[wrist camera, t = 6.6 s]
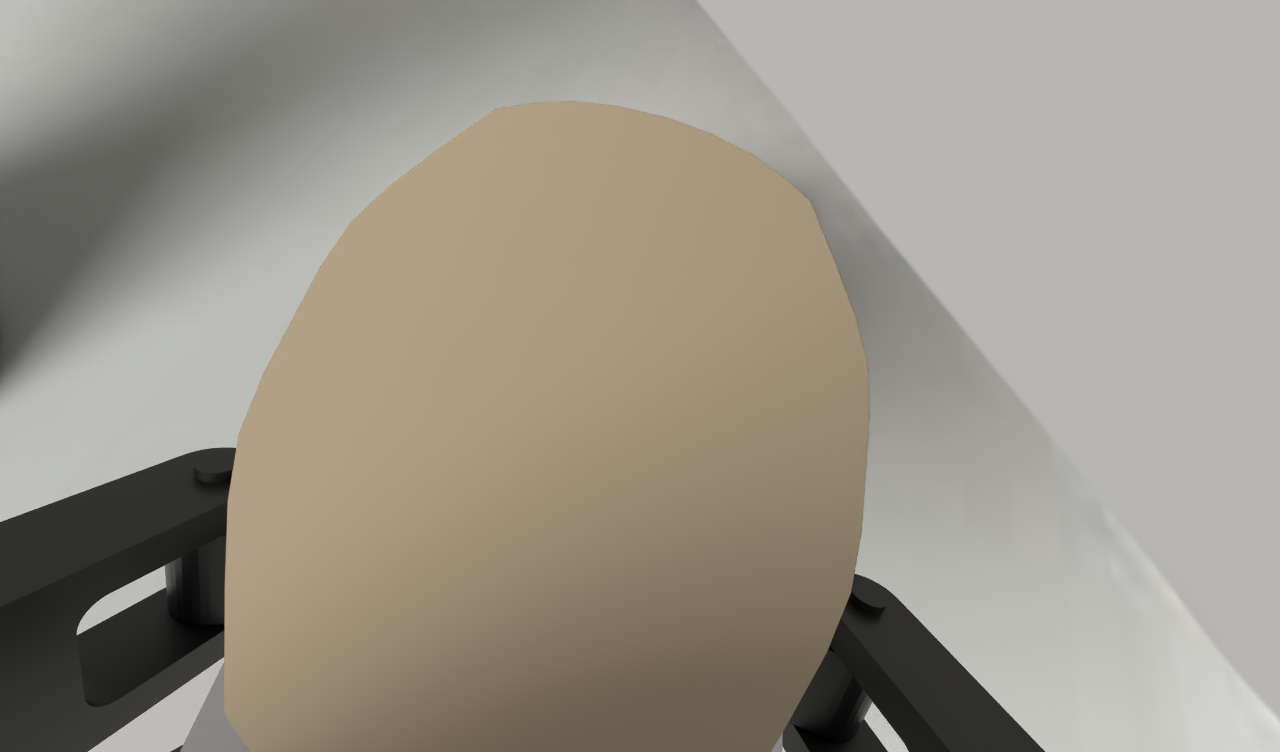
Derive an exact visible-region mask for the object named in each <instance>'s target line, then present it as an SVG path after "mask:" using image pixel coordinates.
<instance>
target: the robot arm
mask: <svg viewBox="0 0 1280 752" xmlns="http://www.w3.org/2000/svg"><path fill="white" fill-rule="evenodd" d="M235 454H236V448H211V449H204V450H199V451H195V452H191V453H188V454H185V455H182V456H179V457H177V458H174V459H171V460H168V461H166V462H163V463H160V464H158V465H155V466H152V467H149V468H147V469H144V470H141V471H138V472H136V473H133V474H130V475H128V476H125V477H122V478H119V479H117V480H114V481H111V482H108V483H106V484H103V485H100V486H98V487H95V488H92V489H89V490H87V491H84V492H81V493H78V494H76V495H73V496H70V497H68V498H65V499H62V500H59V501H57V502H54V503H51V504H48V505H46V506H43V507H40V508H38V509H35V510H32V511H29V512H27V513H24V514H21V515H19V516H16V517H13V518H10V519H8V520H5V521H2V522H0V752H88V751H89V750H91V749H92V748H93V747H95V746H96V745H98V744H99V743H101V742H102V741H103V740H105V739H106V738H108V737H109V736H111V735H112V734H114V733H115V732H116V731H118V730H119V729H121V728H122V727H124V726H125V725H127V724H128V723H129V722H131V721H132V720H134V719H135V718H137V717H138V716H139V715H141V714H142V713H144V712H145V711H147V710H148V709H150V708H151V707H152V706H154V705H155V704H157V703H158V702H160V701H161V700H162V699H164V698H165V697H167V696H168V695H170V694H171V693H173V692H174V691H175V690H177V689H178V688H180V687H181V686H183V685H184V684H186V683H187V682H188V681H190V680H191V679H193V678H194V677H196V676H197V675H198V674H200V673H201V672H203V671H204V670H206V669H207V668H209V667H210V666H211V665H213V664H214V663H216V662H217V661H219V660H220V659H222V658H223V657H224V644H225V565H226V536H227V507H228V496H229V490H230V484H231V478H232V472H233V466H234V460H235ZM164 565H165V573H166V588H164V589H162V590H160V591H158V592H156V593H154V594H153V595H151V596H149V597H147V598H145V599H143V600H142V601H140V602H138V603H136V604H134V605H132V606H131V607H129V608H127V609H125V610H123V611H121V612H119V613H118V614H116V615H114V616H112V617H110V618H108V619H107V620H105V621H103V622H101V623H99V624H97V625H95V626H94V627H92V628H90V629H88V630H86V631H84V632H83V633H81V634H79V635H77V628H78V625H79V623H80V621H81V619H82V617H83V616H84V615H85V613H86V612H87V611H88V610H89V609H90V608H91V607H92V606H93V605H94V604H95V603H96V602H97V601H99V600H100V599H101V598H103V597H104V596H106V595H108V594H109V593H111V592H113V591H115V590H117V589H119V588H121V587H123V586H125V585H127V584H129V583H131V582H133V581H135V580H137V579H139V578H141V577H143V576H145V575H147V574H149V573H151V572H152V571H154V570H156V569H158V568H160V567H162V566H164ZM872 701H873V703H874V704H875V705H876V707H877V708H878V709H879V710H880V712H881V713H882V714H883V716H884V717H885V718H886V720H887V721H888V722H889V724H890V725H891V726H892V727H893V729H894V730H895V731H896V733H897V734H898V735H899V737H900V738H901V739H902V741H903V742H904V744H905V745H906V747H907V749H908V751H909V752H1045V751H1044V750H1043V749H1042V748H1041V747H1040V746H1039V745H1038V744H1037V743H1036V742H1035V741H1034V740H1033V739H1032V738H1031V737H1030V736H1029V735H1028V733H1027V732H1026V731H1025V730H1024V729H1023V728H1022V727H1021V726H1020V725H1019V724H1018V723H1017V722H1016V721H1015V720H1014V719H1013V718H1012V717H1011V716H1010V715H1009V714H1008V713H1007V712H1006V711H1005V710H1004V709H1003V708H1002V706H1001V705H1000V704H999V703H998V702H997V701H996V700H995V699H994V698H993V697H992V696H991V695H990V694H989V693H988V692H987V691H986V690H985V689H984V688H983V687H982V686H981V685H980V684H979V683H978V682H977V680H976V679H975V678H974V677H973V676H972V675H971V674H970V673H969V672H968V671H967V670H966V669H965V668H964V667H963V666H962V665H961V664H960V663H959V662H958V661H957V660H956V659H955V658H954V657H953V656H952V655H951V653H950V652H949V651H948V650H947V649H946V648H945V647H944V646H943V645H942V644H941V643H940V642H939V641H938V640H937V639H936V638H935V637H934V636H933V635H932V634H931V633H930V632H929V631H928V630H927V629H926V628H925V626H924V625H923V624H922V623H921V622H920V621H919V620H918V619H917V618H916V617H915V616H914V615H913V614H912V613H911V612H910V611H909V610H908V609H907V608H906V607H905V606H904V605H903V604H902V603H901V602H900V601H899V599H898V598H896V597H895V596H894V595H893V594H892V593H891V592H890V591H888V590H887V589H886V588H884V587H883V586H881V585H880V584H878V583H876V582H874V581H872V580H870V579H868V578H866V577H863V576H860V575H857V574H854V578H853V584H852V590H851V594H850V596H849V599H848V601H847V604H846V606H845V609H844V611H843V614H842V616H841V619H840V621H839V623H838V626H837V628H836V631H835V633H834V636H833V638H832V641H831V643H830V646H829V648H828V651H827V653H826V655H825V657H824V658H823V660H822V662H821V664H820V666H819V668H818V669H817V671H816V673H815V675H814V677H813V678H812V680H811V682H810V684H809V686H808V688H807V689H806V691H805V693H804V695H803V697H802V698H801V700H800V702H799V704H798V706H797V708H796V709H795V711H794V713H793V715H792V717H791V718H790V720H789V722H788V724H787V726H786V727H785V729H784V731H783V732H782V734H781V736H780V738H779V739H778V741H777V743H776V744H775V746H774V748H773V750H772V751H771V752H782V746H783V748H784V749H785V751H786V752H888V751H887V750H886V749H885V747H884V746H883V744H882V743H881V742H880V740H879V739H878V738H877V736H876V735H875V733H874V732H873V731H872V729H871V728H870V727H869V725H868V724H867V723H866V721H865V720H864V717H865V715H866V713H867V711H868V709H869V707H870V705H871V703H872ZM171 752H249V750H248V749H247V747H246V746H245V744H244V743H243V741H242V740H241V738H240V737H239V735H238V734H237V732H236V731H235V729H234V728H233V727H232V725H231V724H230V722H229V721H228V719H227V718H226V716H225V715H224V663H223V665H222V667H221V669H220V671H219V674H218V676H217V678H216V680H215V682H214V684H213V686H212V688H211V690H210V692H209V694H208V696H207V698H206V700H205V702H204V704H203V706H202V708H201V710H200V712H199V714H198V716H197V718H196V720H195V722H194V724H193V726H192V728H191V730H190V732H189V735H188V737H187V739H186V741H185V743H184V745H182V746H180V747H178V748H176V749H175V750H173V751H171Z"/></svg>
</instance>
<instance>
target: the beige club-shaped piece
mask: <svg viewBox="0 0 1280 752" xmlns="http://www.w3.org/2000/svg"><path fill="white" fill-rule="evenodd" d="M869 420H870V411H869V383H868V365H867V361H866V357H865V353H864V349H863V345H862V341H861V337H860V333H859V329H858V325H857V321H856V317H855V315H854V312H853V309H852V306H851V304H850V301H849V298H848V296H847V293H846V290H845V288H844V285H843V282H842V280H841V277H840V274H839V272H838V269H837V266H836V264H835V261H834V259H833V256H832V254H831V251H830V249H829V246H828V244H827V241H826V239H825V236H824V234H823V231H822V229H821V227H820V224H819V222H818V219H817V217H816V214H815V212H814V209H813V207H812V204H811V202H810V200H809V199H807V198H806V197H805V196H804V195H803V194H802V193H801V192H800V191H799V190H797V189H796V188H795V187H794V186H793V185H792V184H791V183H790V182H789V181H788V180H786V179H785V178H784V177H783V176H782V175H780V174H779V173H778V172H776V171H775V170H773V169H772V168H771V167H769V166H768V165H767V164H765V163H764V162H762V161H761V160H760V159H758V158H757V157H756V156H754V155H753V154H751V153H749V152H747V151H745V150H743V149H741V148H739V147H737V146H735V145H733V144H731V143H729V142H727V141H725V140H723V139H721V138H719V137H717V136H715V135H713V134H711V133H708V132H705V131H703V130H700V129H697V128H694V127H692V126H689V125H686V124H683V123H681V122H678V121H675V120H672V119H669V118H667V117H663V116H658V115H654V114H650V113H646V112H641V111H637V110H633V109H629V108H624V107H620V106H613V105H604V104H595V103H586V102H577V101H562V102H543V103H530V104H524V105H517V106H511V107H505V108H498V109H495V110H493V111H492V112H491V113H489V114H488V115H486V116H485V117H484V118H482V119H481V120H479V121H478V122H476V123H475V124H474V125H472V126H471V127H469V128H468V129H467V130H465V131H464V132H462V133H461V134H459V135H458V136H457V137H455V138H454V139H452V140H451V141H449V142H448V143H447V144H445V145H444V146H442V147H441V148H440V149H438V150H437V151H435V152H434V153H433V154H431V155H430V156H429V157H427V158H426V159H425V160H423V161H422V162H421V163H419V164H418V165H417V166H415V167H414V168H413V169H411V170H410V171H409V172H407V173H406V174H405V175H403V176H402V177H401V178H399V179H398V180H397V181H395V182H394V183H393V184H391V185H390V186H389V187H388V188H387V189H386V190H384V191H383V192H382V193H381V194H380V195H379V196H378V197H377V198H376V199H375V200H374V201H373V202H372V203H371V204H370V205H369V206H367V207H366V208H365V209H364V210H363V211H362V212H361V213H360V214H359V215H358V216H357V217H356V218H355V219H354V220H353V221H352V222H351V223H350V224H349V226H348V227H347V229H346V230H345V232H344V233H343V234H342V236H341V237H340V239H339V240H338V242H337V243H336V245H335V246H334V248H333V249H332V250H331V252H330V253H329V255H328V256H327V258H326V259H325V261H324V262H323V264H322V265H321V267H320V268H319V270H318V272H317V274H316V276H315V278H314V280H313V282H312V283H311V285H310V287H309V289H308V291H307V293H306V295H305V296H304V298H303V300H302V302H301V304H300V306H299V308H298V310H297V311H296V313H295V315H294V317H293V319H292V321H291V323H290V324H289V326H288V328H287V330H286V332H285V334H284V336H283V338H282V339H281V341H280V343H279V345H278V347H277V349H276V351H275V352H274V354H273V356H272V358H271V360H270V362H269V364H268V366H267V367H266V369H265V371H264V373H263V375H262V378H261V380H260V383H259V385H258V388H257V390H256V393H255V395H254V398H253V400H252V403H251V405H250V408H249V410H248V412H247V415H246V417H245V420H244V422H243V425H242V427H241V430H240V432H239V435H238V441H237V447H236V454H235V460H234V466H233V472H232V478H231V484H230V490H229V496H228V507H227V536H226V565H225V644H224V715H225V716H226V718H227V719H228V721H229V722H230V724H231V725H232V727H233V728H234V729H235V731H236V732H237V734H238V735H239V737H240V738H241V740H242V741H243V743H244V744H245V746H246V747H247V749H248V750H249V752H771V751H772V750H773V748H774V746H775V744H776V743H777V741H778V739H779V738H780V736H781V734H782V732H783V731H784V729H785V727H786V726H787V724H788V722H789V720H790V718H791V717H792V715H793V713H794V711H795V709H796V708H797V706H798V704H799V702H800V700H801V698H802V697H803V695H804V693H805V691H806V689H807V688H808V686H809V684H810V682H811V680H812V678H813V677H814V675H815V673H816V671H817V669H818V668H819V666H820V664H821V662H822V660H823V658H824V657H825V655H826V653H827V651H828V648H829V646H830V643H831V641H832V638H833V636H834V633H835V631H836V628H837V626H838V623H839V621H840V619H841V616H842V614H843V611H844V609H845V606H846V604H847V601H848V599H849V596H850V594H851V590H852V584H853V578H854V573H855V567H856V561H857V555H858V550H859V544H860V538H861V532H862V520H863V506H864V492H865V477H866V463H867V449H868V435H869Z"/></svg>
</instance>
